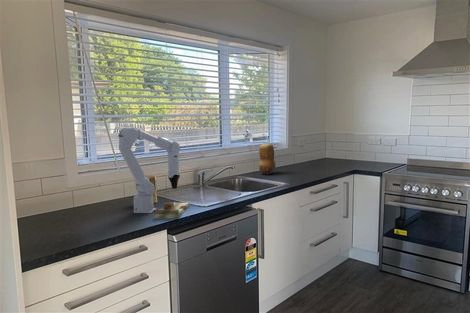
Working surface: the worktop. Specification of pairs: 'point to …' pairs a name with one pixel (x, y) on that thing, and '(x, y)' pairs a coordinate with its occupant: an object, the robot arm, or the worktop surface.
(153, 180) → the candy box
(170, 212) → the trap runway
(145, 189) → the robot arm
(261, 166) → the butternut squash
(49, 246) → the worktop surface
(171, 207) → the walnut block
